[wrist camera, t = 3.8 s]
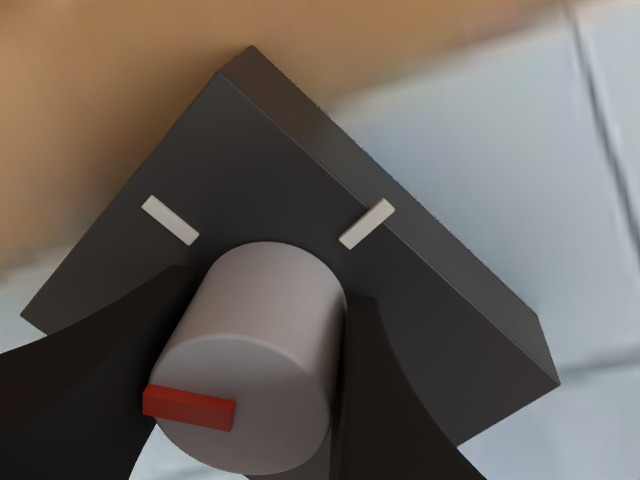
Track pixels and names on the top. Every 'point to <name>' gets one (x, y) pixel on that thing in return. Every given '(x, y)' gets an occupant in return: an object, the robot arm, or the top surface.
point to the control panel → (310, 246)
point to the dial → (253, 362)
